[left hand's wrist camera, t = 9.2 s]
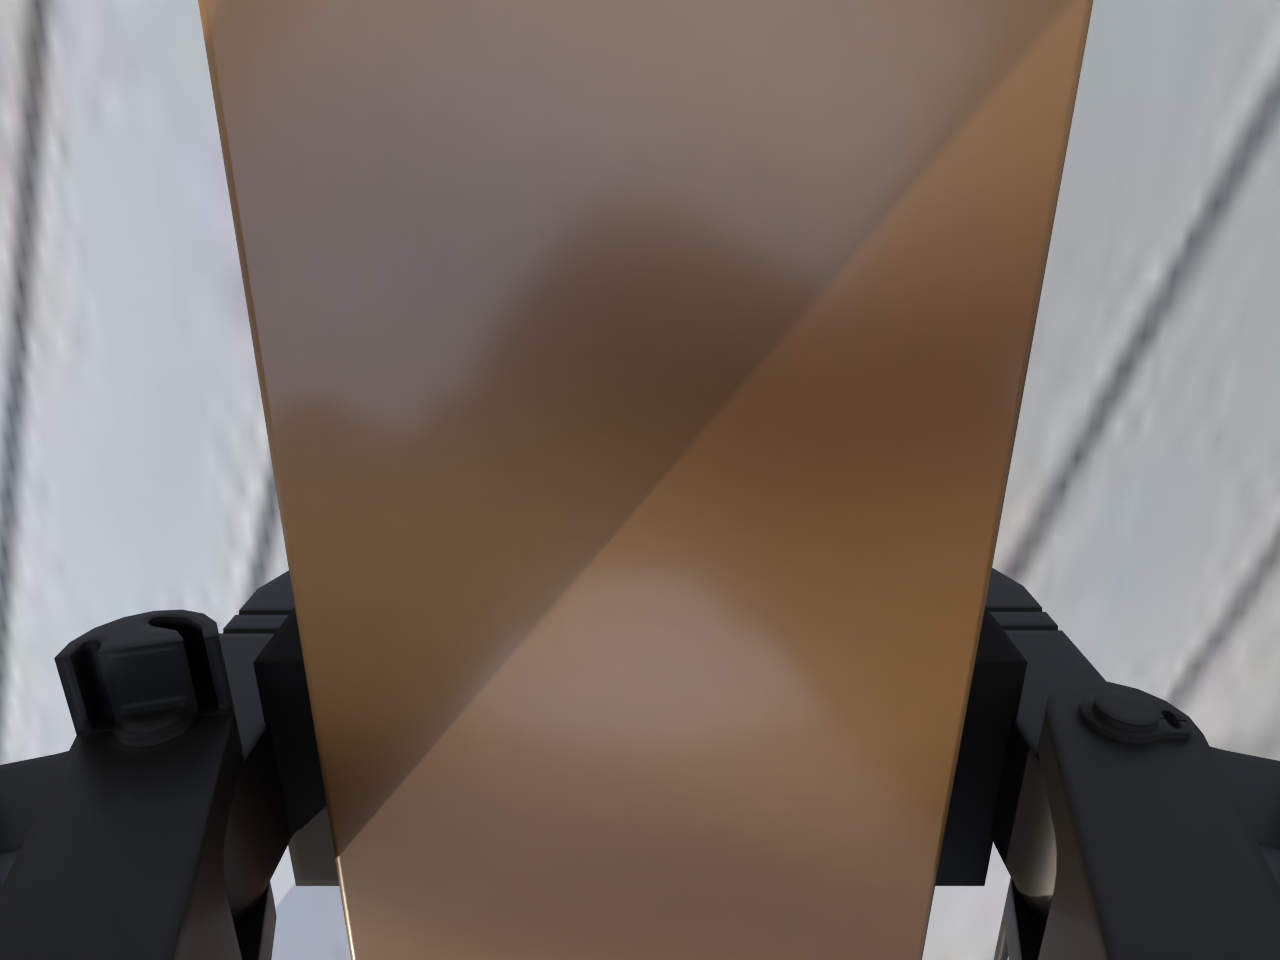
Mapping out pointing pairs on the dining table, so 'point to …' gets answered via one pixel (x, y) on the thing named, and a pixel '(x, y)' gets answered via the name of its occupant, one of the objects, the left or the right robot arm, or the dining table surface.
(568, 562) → the beam
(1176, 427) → the dining table surface
